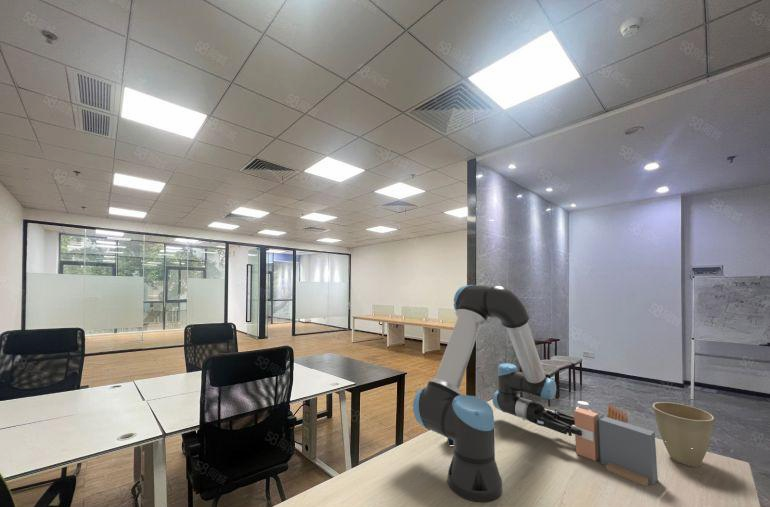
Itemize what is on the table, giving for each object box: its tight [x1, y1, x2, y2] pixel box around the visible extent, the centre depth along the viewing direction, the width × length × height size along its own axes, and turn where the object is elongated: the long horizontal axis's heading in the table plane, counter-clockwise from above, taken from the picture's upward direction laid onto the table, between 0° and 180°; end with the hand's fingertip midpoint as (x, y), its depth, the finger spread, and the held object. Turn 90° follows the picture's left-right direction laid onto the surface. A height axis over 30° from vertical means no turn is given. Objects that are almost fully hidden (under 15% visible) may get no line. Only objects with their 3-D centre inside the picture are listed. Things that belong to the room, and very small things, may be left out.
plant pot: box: [652, 401, 715, 468], centre depth 107 cm, size 15×15×16 cm
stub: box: [573, 408, 600, 462], centre depth 110 cm, size 6×4×14 cm, turn 36°
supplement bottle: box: [575, 400, 592, 412], centre depth 130 cm, size 5×5×10 cm
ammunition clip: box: [606, 402, 629, 424], centre depth 120 cm, size 11×2×12 cm, turn 178°
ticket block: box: [597, 414, 659, 487], centre depth 101 cm, size 14×9×14 cm, turn 36°
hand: (596, 434), depth 107 cm, fingers closed on stub, 4 cm apart
